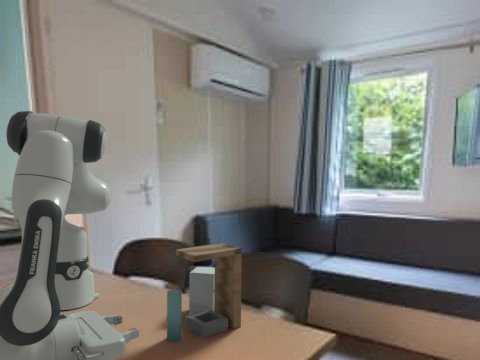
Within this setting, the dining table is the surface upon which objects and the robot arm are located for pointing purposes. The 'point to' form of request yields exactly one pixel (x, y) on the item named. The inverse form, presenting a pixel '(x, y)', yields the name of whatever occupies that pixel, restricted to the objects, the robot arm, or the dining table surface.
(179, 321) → the peg
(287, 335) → the dining table surface
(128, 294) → the dining table surface
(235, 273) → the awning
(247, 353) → the dining table surface
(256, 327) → the dining table surface
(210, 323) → the socket
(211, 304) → the supplement box
